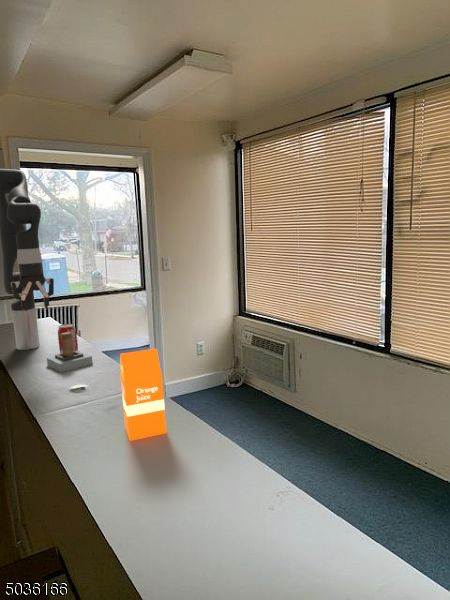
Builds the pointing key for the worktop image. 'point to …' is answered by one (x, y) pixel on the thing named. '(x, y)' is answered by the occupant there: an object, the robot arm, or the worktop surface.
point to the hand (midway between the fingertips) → (35, 309)
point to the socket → (69, 361)
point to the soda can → (65, 329)
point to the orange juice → (142, 394)
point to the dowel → (67, 344)
